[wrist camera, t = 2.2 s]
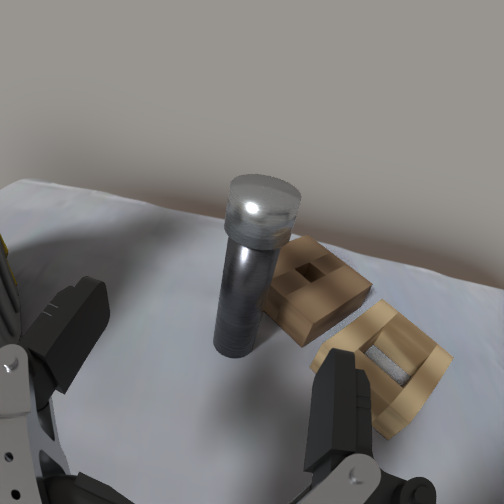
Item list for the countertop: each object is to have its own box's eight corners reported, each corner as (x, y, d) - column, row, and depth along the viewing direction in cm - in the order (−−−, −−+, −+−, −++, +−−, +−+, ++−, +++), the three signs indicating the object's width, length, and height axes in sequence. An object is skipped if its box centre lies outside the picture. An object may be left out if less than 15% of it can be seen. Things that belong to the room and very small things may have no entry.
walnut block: (300, 257, 41) (307, 234, 39) (360, 306, 35) (372, 284, 33) (236, 284, 35) (241, 258, 33) (301, 347, 29) (313, 323, 27)
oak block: (368, 321, 33) (382, 298, 31) (435, 377, 28) (453, 357, 26) (309, 367, 27) (322, 343, 25) (388, 440, 22) (409, 423, 20)
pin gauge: (237, 317, 31) (268, 171, 22) (267, 348, 28) (315, 199, 20) (199, 335, 28) (216, 179, 20) (228, 370, 26) (262, 213, 17)
